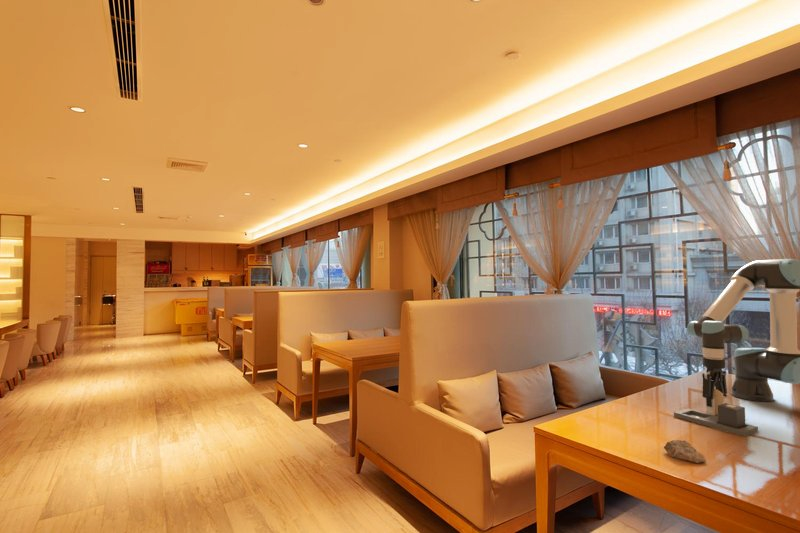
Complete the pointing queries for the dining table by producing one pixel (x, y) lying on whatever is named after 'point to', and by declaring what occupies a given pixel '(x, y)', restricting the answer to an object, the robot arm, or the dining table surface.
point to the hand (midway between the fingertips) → (715, 412)
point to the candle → (717, 399)
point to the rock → (683, 451)
